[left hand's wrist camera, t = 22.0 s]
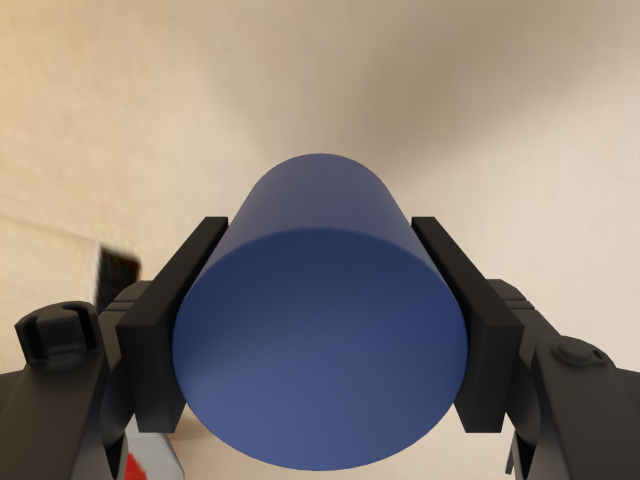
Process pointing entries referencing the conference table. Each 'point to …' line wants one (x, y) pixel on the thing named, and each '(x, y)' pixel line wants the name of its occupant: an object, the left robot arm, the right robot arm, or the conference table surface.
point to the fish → (150, 456)
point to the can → (319, 324)
